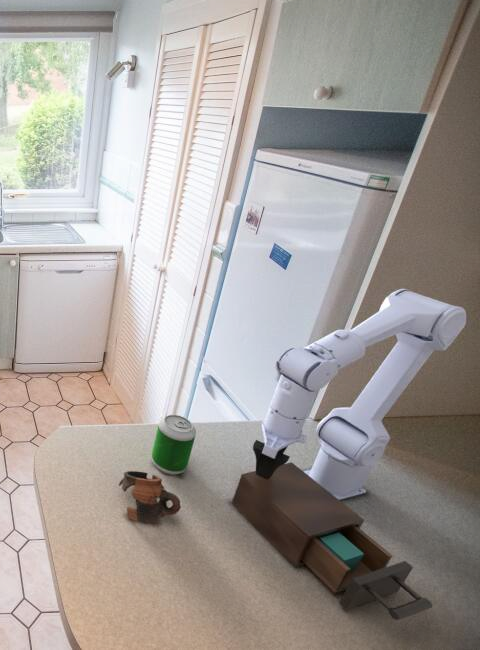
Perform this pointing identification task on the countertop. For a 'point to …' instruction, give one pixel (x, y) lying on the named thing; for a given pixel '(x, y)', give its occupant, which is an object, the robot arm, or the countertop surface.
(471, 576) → the countertop surface
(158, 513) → the pottery mug
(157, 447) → the soda can
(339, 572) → the drawer
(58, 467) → the countertop surface
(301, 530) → the cabinet
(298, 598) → the countertop surface
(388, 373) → the robot arm
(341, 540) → the block
